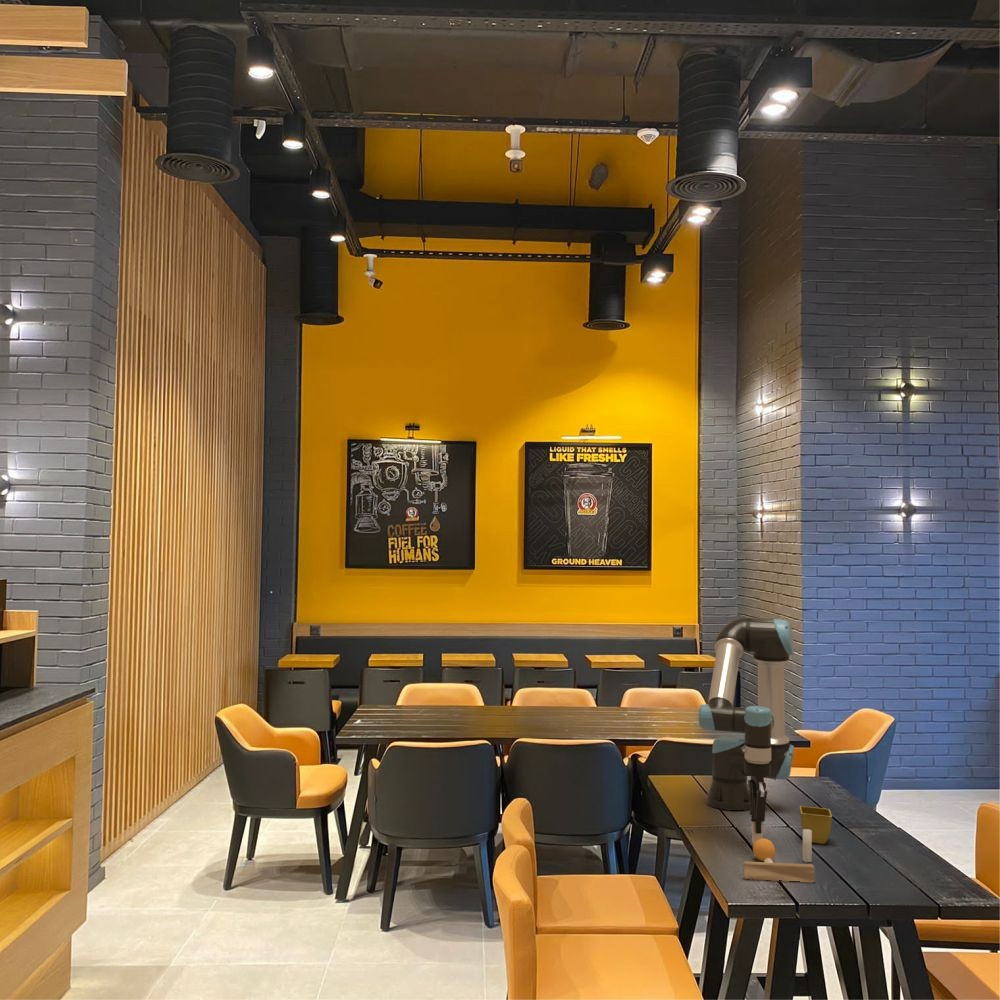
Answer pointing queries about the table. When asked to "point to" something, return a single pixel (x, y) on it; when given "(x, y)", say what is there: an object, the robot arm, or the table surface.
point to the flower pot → (816, 822)
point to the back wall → (779, 871)
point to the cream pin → (768, 860)
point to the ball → (763, 849)
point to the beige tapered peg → (807, 845)
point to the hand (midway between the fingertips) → (757, 843)
